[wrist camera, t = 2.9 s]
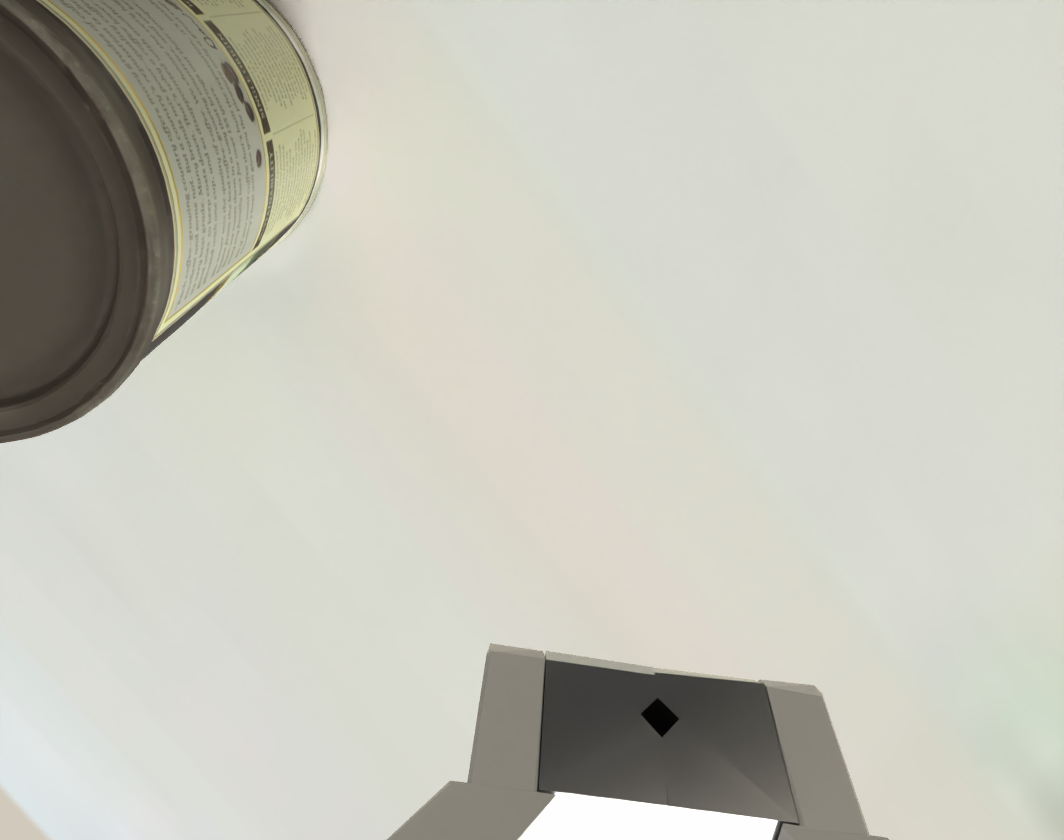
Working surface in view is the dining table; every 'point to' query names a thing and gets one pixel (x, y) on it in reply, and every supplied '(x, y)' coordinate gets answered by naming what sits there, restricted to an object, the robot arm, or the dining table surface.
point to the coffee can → (137, 181)
